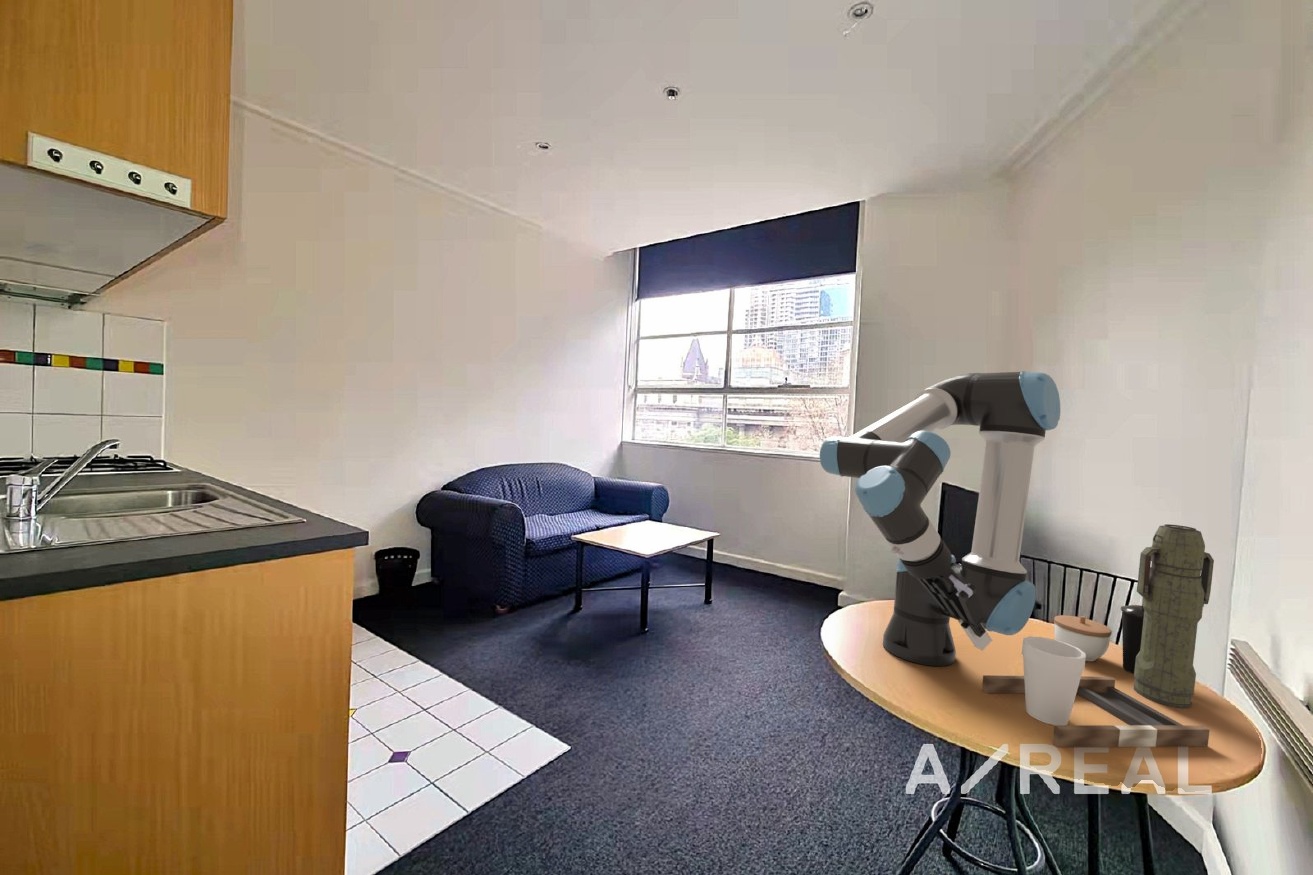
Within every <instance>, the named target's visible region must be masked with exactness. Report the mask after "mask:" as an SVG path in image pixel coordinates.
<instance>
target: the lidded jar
mask: <svg viewBox="0 0 1313 875" xmlns="http://www.w3.org/2000/svg"><path fill="white" fill-rule="evenodd" d="M1053 622H1054V623H1053V624H1054V625H1053V629H1054V630H1053V633H1054V640H1057V641H1061V642H1064V643H1067V644H1070V645H1072V646H1074V647H1076V648H1079V649H1080V650H1081V651H1083V652H1084V653H1085V656H1086V659H1085V662H1095V661H1096V659H1099V658H1101V657H1103V656H1104V655H1105V654H1106V653H1107V651H1108V649H1109V647H1110V642H1111V636H1112V632H1113V631H1112V629H1111V628H1110V627H1109V626H1107V625H1105V624H1103V623H1100V622H1098V621H1094V620H1092V619H1089V618H1086V616H1083V615H1080V616H1074V615H1065V614H1064V615H1063V614H1061V615H1056V616H1054V617H1053Z"/></svg>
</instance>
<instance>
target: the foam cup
mask: <svg viewBox="0 0 1313 875" xmlns="http://www.w3.org/2000/svg"><path fill="white" fill-rule="evenodd" d="M1021 654H1022V660H1023V661H1022V663H1023V676H1024V682H1025V693H1024V694H1025V695H1024V696H1025V709H1026V710H1025V711H1026V712H1027V714H1028V715H1029V716H1031V717H1032V718H1034V719H1036V720H1037V721H1040V722H1041V723H1042V722H1043V723H1045V724H1048V725H1052V726H1054V725H1069V724H1068V723H1069V721H1070V717H1071V715H1072V714H1071V713H1072V710H1073V707H1074V704H1075V700H1076V695H1077V694H1076V693H1077V689H1078V686H1079V682H1080V678H1081V676H1082V674H1083V672H1084V671H1085V667H1086V661H1085V659H1086V656H1085V653H1084V652H1083V651H1081V650H1080V649H1079V648H1076V647H1074V646H1072V645H1070V644H1067V643H1064V642H1061V641H1057V640H1056V639H1055V638H1048V637H1042V636H1029V635H1028V636H1025V637H1023V638H1022V646H1021Z"/></svg>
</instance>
